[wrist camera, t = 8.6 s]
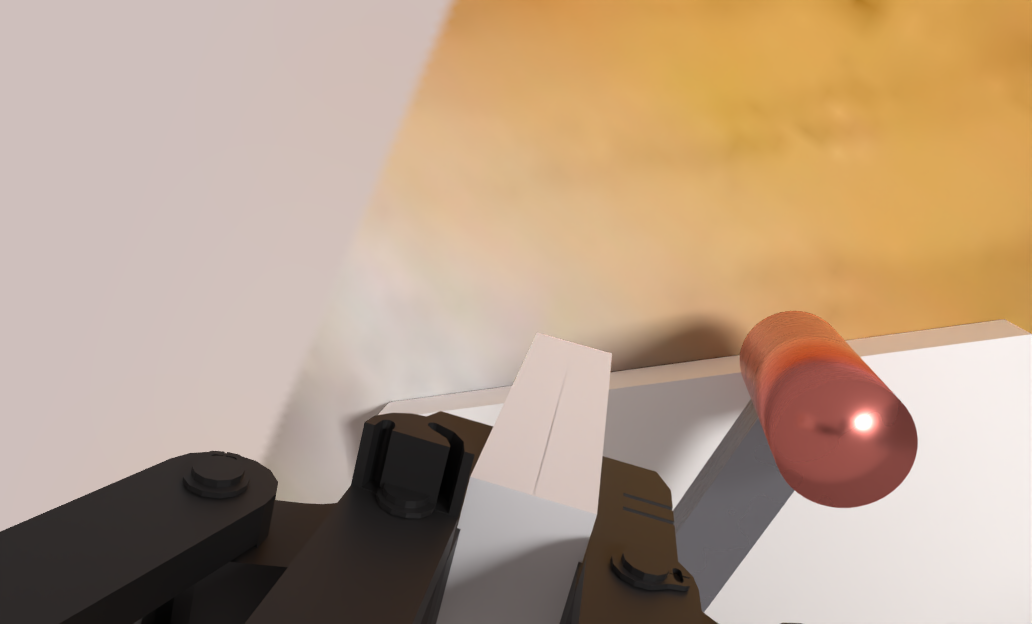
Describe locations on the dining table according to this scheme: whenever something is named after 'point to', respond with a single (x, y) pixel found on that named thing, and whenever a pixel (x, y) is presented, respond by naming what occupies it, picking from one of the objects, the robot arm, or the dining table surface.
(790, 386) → the lever
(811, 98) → the dining table surface
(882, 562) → the base
